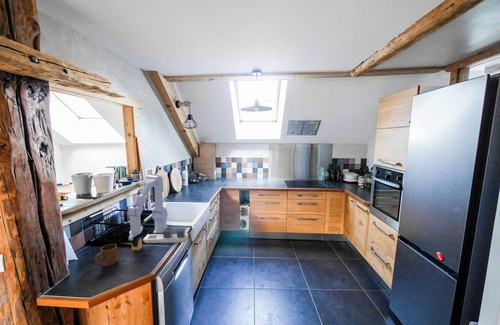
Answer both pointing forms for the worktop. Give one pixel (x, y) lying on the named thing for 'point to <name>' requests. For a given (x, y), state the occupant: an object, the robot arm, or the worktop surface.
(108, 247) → the mug
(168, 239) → the pdu strip
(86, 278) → the worktop surface
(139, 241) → the plug
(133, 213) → the robot arm
